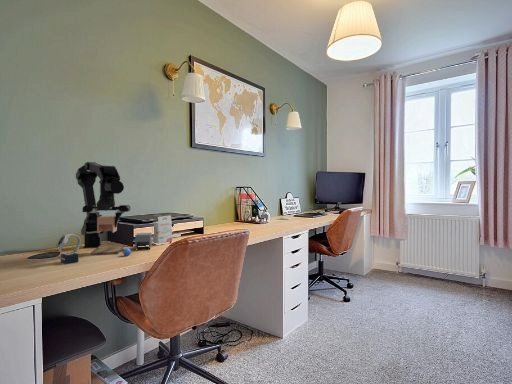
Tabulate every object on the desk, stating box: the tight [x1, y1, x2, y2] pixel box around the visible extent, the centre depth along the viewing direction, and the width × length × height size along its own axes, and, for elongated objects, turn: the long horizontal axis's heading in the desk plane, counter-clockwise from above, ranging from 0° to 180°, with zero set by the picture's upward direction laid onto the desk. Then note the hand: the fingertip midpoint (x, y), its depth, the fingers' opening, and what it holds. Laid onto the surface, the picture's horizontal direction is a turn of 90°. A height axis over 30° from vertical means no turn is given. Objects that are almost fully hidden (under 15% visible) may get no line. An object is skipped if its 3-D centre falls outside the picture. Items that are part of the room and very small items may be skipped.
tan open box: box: [96, 215, 118, 234], centre depth 131 cm, size 7×7×7 cm
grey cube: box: [134, 232, 153, 250], centre depth 139 cm, size 7×7×7 cm
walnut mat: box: [89, 246, 124, 256], centre depth 131 cm, size 11×11×1 cm
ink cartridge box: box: [152, 215, 173, 244], centre depth 150 cm, size 9×5×15 cm, turn 143°
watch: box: [56, 233, 82, 265], centre depth 113 cm, size 6×8×11 cm
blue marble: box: [122, 247, 132, 257], centre depth 124 cm, size 3×3×3 cm
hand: (107, 227), depth 131 cm, fingers closed on tan open box, 7 cm apart
